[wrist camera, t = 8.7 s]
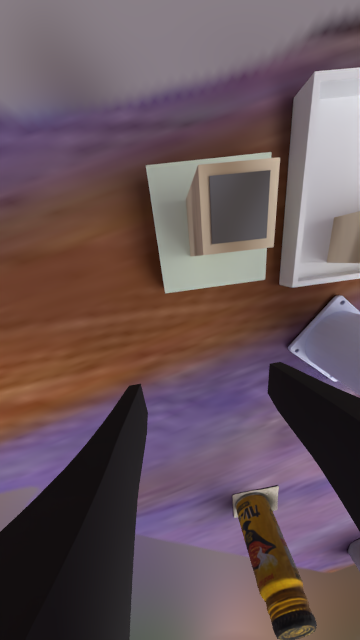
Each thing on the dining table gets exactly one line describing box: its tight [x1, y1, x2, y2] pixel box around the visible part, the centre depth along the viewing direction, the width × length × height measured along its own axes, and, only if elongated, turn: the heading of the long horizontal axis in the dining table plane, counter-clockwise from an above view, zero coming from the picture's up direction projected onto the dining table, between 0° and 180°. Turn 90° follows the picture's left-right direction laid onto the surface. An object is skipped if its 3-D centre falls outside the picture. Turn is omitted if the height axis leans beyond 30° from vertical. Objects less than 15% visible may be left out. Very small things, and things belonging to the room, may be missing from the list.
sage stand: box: [146, 152, 271, 293], centre depth 15 cm, size 9×9×2 cm
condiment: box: [233, 486, 317, 640], centre depth 26 cm, size 7×8×12 cm
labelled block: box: [186, 157, 280, 257], centre depth 11 cm, size 4×4×5 cm
